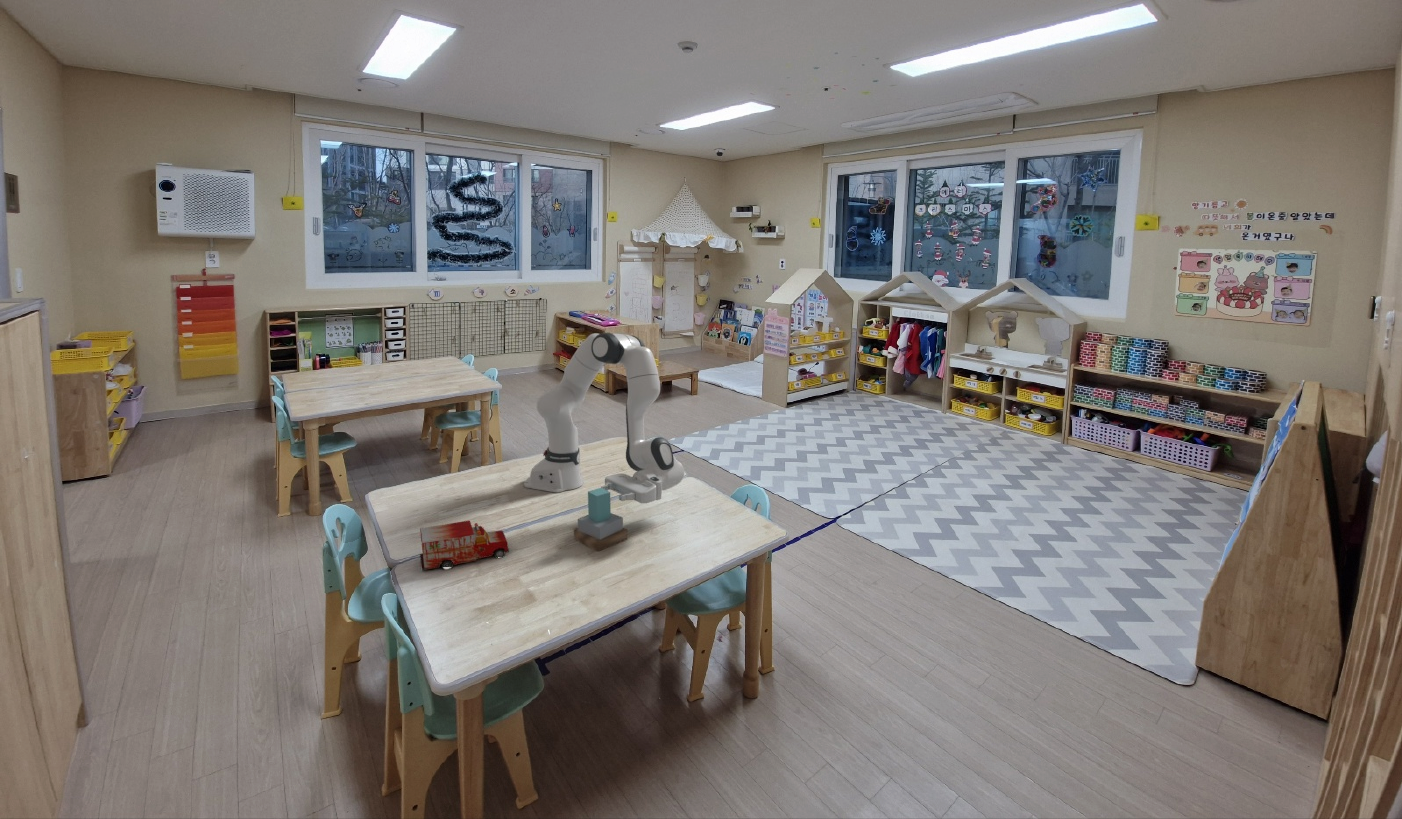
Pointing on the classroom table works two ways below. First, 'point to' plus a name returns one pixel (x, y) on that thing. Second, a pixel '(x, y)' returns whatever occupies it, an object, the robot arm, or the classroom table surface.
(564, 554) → the classroom table surface
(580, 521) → the grey slab
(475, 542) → the red box-shaped vehicle
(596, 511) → the teal column
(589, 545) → the walnut slab
